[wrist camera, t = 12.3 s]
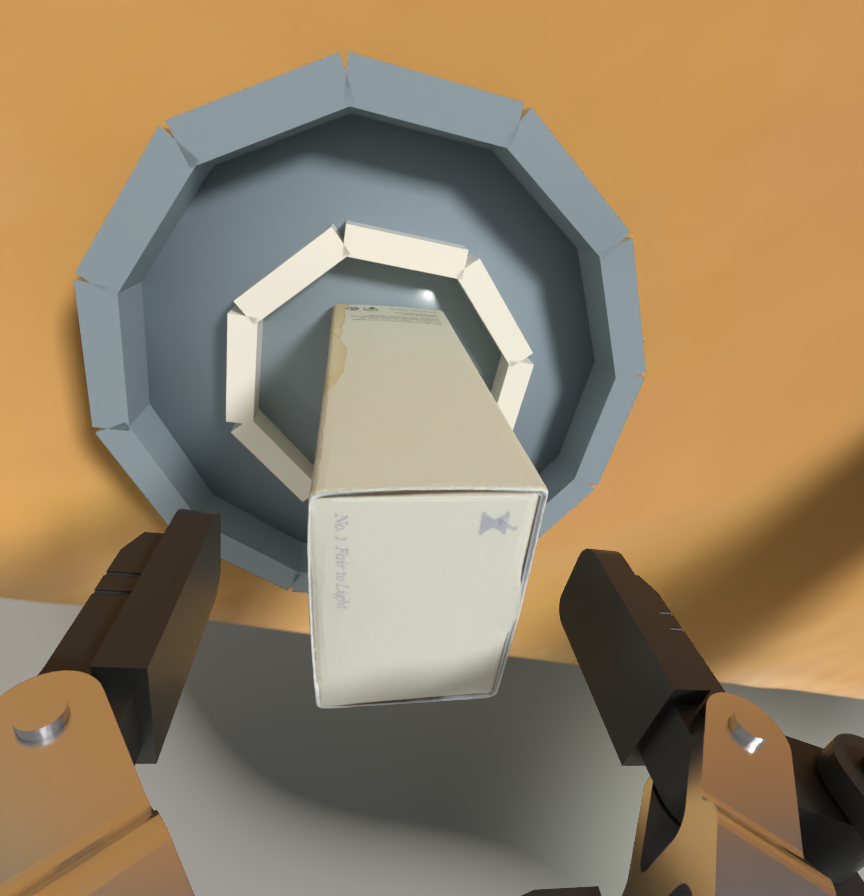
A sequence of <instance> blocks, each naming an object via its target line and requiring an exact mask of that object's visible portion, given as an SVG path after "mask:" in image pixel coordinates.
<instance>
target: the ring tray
mask: <svg viewBox="0 0 864 896" xmlns="http://www.w3.org/2000/svg"><path fill="white" fill-rule="evenodd" d="M523 106H524V102H521V101H517V100H514V99H510V98H507V97H503V96H500V95H497V94H493V93H490V92H486V91H483V90H479V89H476V88H472V87H469V86H465V85H462V84H458V83H455V82H452V81H448V80H445V79H441V78H438V77H434V76H431V75H427V74H424V73H420V72H417V71H413V70H410V69H406V68H403V67H400V66H396V65H393V64H389V63H386V62H382V61H379V60H375V59H372V58H368V57H365V56H361V55H358V54H355V53H351V52H348V61H347V71H345V68H344V65H343V62H342V59H341V56H340V53H339V52H338V53H336V54H333V55H330V56H328V57H325V58H323V59H320V60H318V61H315V62H313V63H310V64H307V65H305V66H302V67H300V68H297V69H295V70H292V71H290V72H287V73H284V74H282V75H279V76H277V77H274V78H272V79H269V80H267V81H264V82H262V83H259V84H256V85H254V86H251V87H249V88H246V89H244V90H241V91H239V92H236V93H233V94H231V95H228V96H226V97H223V98H221V99H218V100H216V101H213V102H210V103H208V104H205V105H203V106H200V107H198V108H195V109H193V110H190V111H187V112H185V113H182V114H180V115H177V116H175V117H172V118H170V119H167V120H166V122H167V124H168V126H169V128H166V127H161V126H158V128H157V130H156V132H155V133H154V135H153V137H152V139H151V140H150V142H149V144H148V146H147V147H146V149H145V151H144V153H143V154H142V156H141V158H140V160H139V161H138V163H137V165H136V167H135V169H134V170H133V172H132V174H131V176H130V177H129V179H128V181H127V183H126V184H125V186H124V188H123V190H122V191H121V193H120V195H119V197H118V198H117V200H116V202H115V204H114V205H113V207H112V209H111V211H110V212H109V214H108V216H107V218H106V219H105V221H104V223H103V225H102V226H101V228H100V230H99V232H98V234H97V235H96V237H95V239H94V241H93V242H92V244H91V246H90V248H89V249H88V251H87V253H86V255H85V256H84V258H83V260H82V262H81V263H80V265H79V267H78V269H77V270H76V272H75V273H76V274H78V275H79V276H81V278H79V279H76V280H74V286H75V294H76V302H77V310H78V318H79V326H80V334H81V341H82V349H83V357H84V365H85V373H86V381H87V389H88V397H89V405H90V412H91V420H92V427H98V428H100V429H99V430H98V431H97V432H96V433H95V434H96V435H97V436H98V437H99V439H100V440H101V441H102V442H103V444H104V445H105V446H106V447H107V449H108V450H109V451H110V453H111V454H112V455H113V456H114V458H115V459H116V460H117V461H118V463H119V464H120V465H121V466H122V468H123V469H124V470H125V471H126V473H127V474H128V475H129V476H130V478H131V479H132V480H133V482H134V483H135V484H136V485H137V487H138V488H139V489H140V490H141V492H142V493H143V494H144V495H145V497H146V498H147V499H148V500H149V502H150V503H151V504H152V505H153V507H154V508H155V509H156V511H157V512H158V513H159V514H160V516H161V517H162V518H163V519H164V521H165V522H166V523H167V524H168V526H169V524H170V522H171V520H172V519H173V517H174V515H175V513H176V512H177V511H178V510H179V509H188V510H199V511H209V512H219V513H220V516H221V559H223V560H225V561H227V562H229V563H232V564H234V565H236V566H238V567H240V568H242V569H244V570H246V571H248V572H250V573H252V574H254V575H256V576H258V577H260V578H263V579H265V580H267V581H269V582H271V583H273V584H275V585H277V586H279V587H281V588H283V589H285V590H288V589H289V588H290V587H291V586H292V585H293V590H292V592H307V593H308V556H307V530H308V498H309V493H310V488H311V481H312V474H313V468H314V462H315V455H316V447H317V440H318V432H319V425H320V417H321V408H322V399H323V392H324V384H325V375H326V367H327V359H328V348H329V336H330V327H331V317H332V309H333V306H334V305H336V304H352V305H379V306H395V307H408V308H421V309H431V310H441V311H442V312H443V313H444V314H445V316H446V318H447V319H448V321H449V323H450V324H451V326H452V328H453V330H454V331H455V333H456V335H457V337H458V338H459V340H460V342H461V343H462V345H463V347H464V348H465V350H466V352H467V354H468V355H469V357H470V358H471V360H472V362H473V364H474V365H475V367H476V369H477V370H478V373H479V374H480V376H481V378H482V379H483V381H484V382H485V384H486V386H487V388H488V389H489V391H490V393H491V394H492V396H493V398H494V399H495V401H496V403H497V404H498V406H499V408H500V410H501V411H502V413H503V415H504V416H505V418H506V420H507V422H508V423H509V425H510V427H511V429H512V430H513V432H514V434H515V435H516V437H517V439H518V440H519V442H520V444H521V445H522V447H523V449H524V450H525V452H526V453H527V455H528V457H529V459H530V460H531V462H532V464H533V465H534V467H535V469H536V470H537V472H538V474H539V476H540V477H541V479H542V481H543V482H544V484H545V486H546V487H547V490H548V498H547V502H546V506H545V509H544V513H543V517H542V523H541V527H540V531H539V535H538V538H540V537H541V536H542V535H543V534H544V533H545V532H546V531H548V530H549V529H550V528H551V527H552V526H553V525H554V524H556V523H557V522H558V521H559V520H560V519H561V518H562V517H564V516H565V515H566V514H567V513H568V512H569V511H571V510H572V509H573V508H574V507H575V506H576V505H577V504H579V503H580V502H581V501H582V500H583V499H584V498H585V497H587V496H588V495H589V494H590V493H591V492H592V491H593V490H594V488H593V487H592V485H598V484H599V481H600V479H601V477H602V475H603V472H604V470H605V468H606V465H607V463H608V461H609V459H610V456H611V454H612V452H613V449H614V447H615V445H616V443H617V440H618V438H619V436H620V433H621V431H622V429H623V427H624V424H625V422H626V420H627V417H628V415H629V413H630V411H631V408H632V406H633V404H634V401H635V399H636V397H637V395H638V392H639V390H640V388H641V385H642V383H643V381H644V379H645V378H644V377H643V376H641V375H640V374H641V373H644V372H646V369H645V358H644V348H643V338H642V328H641V317H640V307H639V297H638V286H637V276H636V266H635V256H634V245H633V239H632V238H628V237H626V236H627V235H628V234H629V233H630V231H629V230H628V228H627V227H626V226H625V225H624V223H623V222H622V221H621V220H620V218H619V217H618V216H617V215H616V213H615V212H614V211H613V210H612V208H611V207H610V206H609V205H608V203H607V202H606V201H605V200H604V198H603V197H602V196H601V194H600V193H599V192H598V191H597V189H596V188H595V187H594V186H593V184H592V183H591V182H590V181H589V179H588V178H587V177H586V176H585V174H584V173H583V172H582V171H581V169H580V168H579V167H578V166H577V164H576V163H575V162H574V160H573V159H572V158H571V157H570V155H569V154H568V153H567V152H566V150H565V149H564V148H563V147H562V145H561V144H560V143H559V142H558V140H557V139H556V138H555V137H554V135H553V134H552V133H551V132H550V130H549V129H548V128H547V126H546V125H545V124H544V123H543V121H542V120H541V119H540V118H539V116H538V115H537V114H536V113H535V111H534V110H533V109H532V108H528V109H525V110H523ZM522 110H523V111H522Z"/></svg>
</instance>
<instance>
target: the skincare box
mask: <svg viewBox="0 0 864 896" xmlns="http://www.w3.org/2000/svg"><path fill="white" fill-rule="evenodd" d="M547 498H548V490H547V487H546V486H545V484H544V482H543V481H542V479H541V477H540V476H539V474H538V472H537V470H536V469H535V467H534V465H533V464H532V462H531V460H530V459H529V457H528V455H527V453H526V452H525V450H524V449H523V447H522V445H521V444H520V442H519V440H518V439H517V437H516V435H515V434H514V432H513V430H512V429H511V427H510V425H509V423H508V422H507V420H506V418H505V416H504V415H503V413H502V411H501V410H500V408H499V406H498V404H497V403H496V401H495V399H494V398H493V396H492V394H491V393H490V391H489V389H488V388H487V386H486V384H485V382H484V381H483V379H482V378H481V376H480V374H479V373H478V370H477V369H476V367H475V365H474V364H473V362H472V360H471V358H470V357H469V355H468V354H467V352H466V350H465V348H464V347H463V345H462V343H461V342H460V340H459V338H458V337H457V335H456V333H455V331H454V330H453V328H452V326H451V324H450V323H449V321H448V319H447V318H446V316H445V314H444V313H443V312H442V311H441V310H431V309H421V308H408V307H395V306H379V305H352V304H336V305H334V306H333V309H332V317H331V327H330V336H329V348H328V359H327V367H326V375H325V384H324V392H323V399H322V408H321V417H320V425H319V432H318V440H317V447H316V455H315V462H314V468H313V474H312V481H311V488H310V493H309V498H308V530H307V556H308V599H309V618H310V637H311V651H312V665H313V676H314V689H315V696H316V704H317V706H318V707H320V708H342V707H353V706H369V705H388V704H389V705H390V704H405V703H417V702H436V701H446V700H447V701H448V700H464V699H475V698H488V697H492V696H494V695H495V694H497V692H498V690H499V686H500V682H501V678H502V675H503V671H504V668H505V665H506V662H507V657H508V654H509V651H510V647H511V643H512V639H513V636H514V632H515V629H516V625H517V622H518V618H519V615H520V612H521V607H522V603H523V598H524V594H525V590H526V585H527V581H528V578H529V574H530V569H531V565H532V561H533V556H534V552H535V548H536V543H537V540H538V535H539V531H540V527H541V523H542V517H543V513H544V509H545V506H546V502H547Z"/></svg>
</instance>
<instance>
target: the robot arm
mask: <svg viewBox="0 0 864 896" xmlns="http://www.w3.org/2000/svg"><path fill="white" fill-rule="evenodd" d="M220 561H221V516H220V513H219V512H209V511H199V510H188V509H179V510H178V511H177V512H176V513H175V515H174V517H173V519H172V520H171V522H170V524H169V526H168V527H167V529H166V531H165V533H164V534H161V533H150V532H144V533H143V534H141V535H140V536H139V537H137V538H136V539H134V540H133V541H132V542H130V543H129V544H128V545H126V546H125V547H123V548H122V549H121V550H120V551H119V553H118V555H117V556H116V558H115V559H114V561H113V562H112V564H111V565H110V567H109V568H108V570H107V574H106V575H104V576H103V578H102V579H101V581H100V582H99V584H98V585H97V587H96V588H95V592H94V594H91V596H90V598H89V599H88V601H87V602H86V604H85V605H84V607H83V608H82V610H81V612H80V613H79V614H78V616H77V617H76V619H75V621H74V622H73V624H72V625H71V627H70V628H69V630H68V631H67V633H66V634H65V636H64V637H63V639H62V641H61V642H60V644H59V645H58V647H57V648H56V650H55V651H54V653H53V654H52V656H51V657H50V659H49V661H48V662H47V664H46V665H45V667H44V668H43V669H42V671H41V672H40V673H39V675H37V676H36V677H33V678H30V679H28V680H26V681H24V682H22V683H20V684H18V685H16V686H15V687H13V688H11V689H9V690H8V691H7V692H5V693H4V694H3V695H1V696H0V896H195V895H194V893H193V890H192V888H191V886H190V883H189V881H188V878H187V876H186V873H185V871H184V869H183V866H182V864H181V861H180V859H179V856H178V854H177V851H176V849H175V846H174V844H173V841H172V839H171V836H170V834H169V832H168V829H167V827H166V825H165V823H164V821H163V819H162V817H161V816H160V814H159V813H158V811H156V810H155V811H154V810H153V809H152V807H151V806H150V804H149V801H148V799H147V797H146V794H145V792H144V790H143V787H142V785H141V782H140V779H139V777H138V774H137V772H136V769H135V767H134V766H135V764H156V763H157V760H158V758H159V755H160V752H161V749H162V746H163V744H164V741H165V738H166V735H167V732H168V730H169V727H170V724H171V721H172V718H173V716H174V713H175V710H176V707H177V704H178V701H179V699H180V696H181V693H182V690H183V688H184V685H185V682H186V679H187V676H188V674H189V671H190V668H191V665H192V662H193V660H194V657H195V654H196V651H197V648H198V646H199V642H200V640H201V637H202V634H203V631H204V629H205V626H206V623H207V620H208V617H209V615H210V612H211V609H212V606H213V603H214V601H215V597H216V594H217V589H218V584H219V578H220ZM559 613H560V619H561V623H562V625H563V628H564V630H565V632H566V635H567V637H568V639H569V642H570V644H571V647H572V649H573V651H574V654H575V656H576V658H577V661H578V663H579V665H580V668H581V670H582V672H583V675H584V677H585V679H586V682H587V684H588V686H589V689H590V691H591V694H592V696H593V698H594V701H595V703H596V705H597V708H598V710H599V712H600V715H601V717H602V719H603V722H604V724H605V726H606V728H607V731H608V734H609V736H610V738H611V741H612V743H613V745H614V748H615V750H616V752H617V754H618V757H619V759H620V762H621V764H622V766H624V765H625V766H632V765H633V766H643V765H645V766H646V767H647V770H648V772H649V774H650V777H649V778H648V780H647V781H646V783H645V785H644V789H643V795H642V800H641V806H640V812H639V818H638V824H637V829H636V836H635V841H634V847H633V853H632V859H631V864H630V870H629V876H628V880H627V884H626V886H625V889H624V892H623V894H622V896H864V882H863V880H862V879H861V877H860V876H859V874H858V872H857V871H859V870H860V869H861V868H863V867H864V738H862V737H859V736H856V735H852V734H840V735H838V736H836V737H835V738H834V739H833V740H832V741H831V742H830V743H829V744H828V745H827V746H826V747H825V748H824V749H823V748H820V747H817V746H814V745H811V744H808V743H805V742H802V741H799V740H796V739H793V738H791V737H788V736H785V735H784V734H783V732H782V731H781V729H780V728H779V727H778V725H777V724H776V723H775V722H774V721H773V720H772V719H771V718H770V717H769V716H768V715H767V714H766V713H765V712H764V711H762V710H761V709H760V708H758V707H757V706H756V705H754V704H753V703H751V702H749V701H748V700H746V699H744V698H742V697H740V696H737V695H734V694H731V693H726V692H725V691H724V689H723V688H722V686H721V685H720V683H719V682H718V680H717V679H716V677H715V676H714V675H713V673H712V672H711V670H710V669H709V667H708V666H707V664H706V663H705V661H704V660H703V658H702V657H701V655H700V654H699V653H698V651H697V650H696V648H695V647H694V645H693V644H692V642H691V641H690V639H689V638H688V636H687V635H686V634H685V632H682V631H681V626H680V625H679V623H678V622H677V620H676V619H675V617H674V616H671V614H670V613H671V612H670V610H669V609H668V607H667V606H666V604H665V603H664V601H663V600H662V598H661V597H660V595H659V594H658V593H657V592H656V591H655V590H654V589H653V588H652V587H651V586H650V585H648V584H647V583H646V582H645V581H644V580H643V579H642V578H641V577H640V576H638V575H635V574H634V572H633V571H632V569H631V568H630V566H629V565H628V563H627V562H626V560H625V559H624V557H623V556H622V555H621V554H620V553H619V552H616V551H606V550H596V549H585V550H583V551H582V552H581V554H580V556H579V558H578V560H577V562H576V564H575V566H574V569H573V571H572V573H571V575H570V577H569V580H568V582H567V584H566V586H565V588H564V591H563V593H562V595H561V598H560V604H559ZM522 896H601V894H600V891H599V888H598V886H595V887H577V888H559V889H541V890H533V891H531V892H529V893H526V894H524V895H522Z"/></svg>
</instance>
